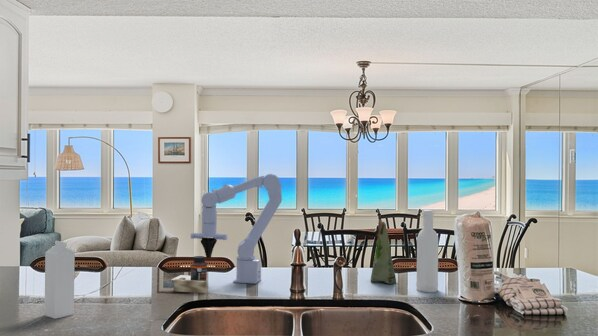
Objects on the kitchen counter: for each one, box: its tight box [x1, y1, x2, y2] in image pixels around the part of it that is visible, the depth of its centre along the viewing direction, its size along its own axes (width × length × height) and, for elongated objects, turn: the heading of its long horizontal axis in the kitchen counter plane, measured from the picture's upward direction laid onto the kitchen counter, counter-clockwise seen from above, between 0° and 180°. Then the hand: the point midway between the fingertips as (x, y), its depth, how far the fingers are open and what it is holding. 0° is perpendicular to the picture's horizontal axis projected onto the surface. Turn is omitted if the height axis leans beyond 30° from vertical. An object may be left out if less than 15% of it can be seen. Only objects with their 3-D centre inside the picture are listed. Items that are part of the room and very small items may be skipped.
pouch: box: [370, 219, 397, 285], centre depth 208 cm, size 11×12×25 cm
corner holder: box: [173, 278, 208, 294], centre depth 188 cm, size 12×5×4 cm, turn 79°
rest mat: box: [170, 274, 191, 282], centre depth 208 cm, size 9×9×1 cm
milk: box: [43, 240, 76, 320], centre depth 155 cm, size 6×6×22 cm
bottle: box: [415, 209, 439, 293], centre depth 195 cm, size 8×8×30 cm
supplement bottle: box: [190, 255, 208, 282], centre depth 194 cm, size 6×6×11 cm
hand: (208, 257), depth 204 cm, fingers closed
